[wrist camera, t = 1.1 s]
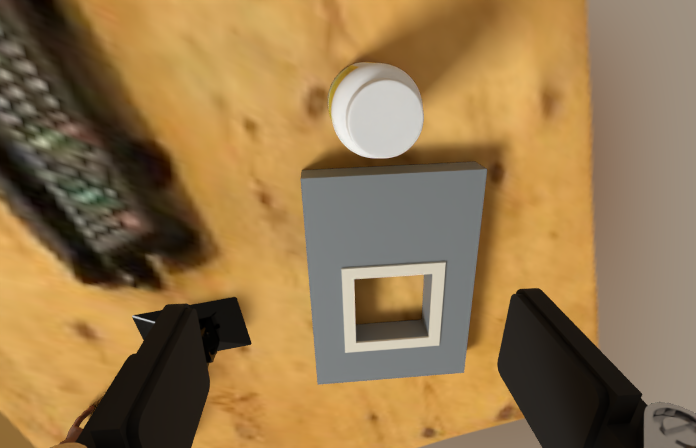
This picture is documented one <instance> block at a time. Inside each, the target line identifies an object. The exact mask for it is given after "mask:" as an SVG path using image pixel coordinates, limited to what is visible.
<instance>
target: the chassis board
mask: <svg viewBox="0 0 696 448" xmlns="http://www.w3.org/2000/svg"><path fill="white" fill-rule="evenodd" d="M486 175H487V169H486V168H485V167H483V166H481V165H480V164H478V163H477V162H456V163H436V164H416V165H396V166H376V167H356V168H336V169H316V170H302V172H301V189H302V201H303V213H304V226H305V238H306V250H307V262H308V274H309V286H310V298H311V310H312V322H313V334H314V346H315V358H316V370H317V382H318V384H330V383H343V382H355V381H367V380H379V379H392V378H404V377H416V376H428V375H441V374H453V373H464V367H465V358H466V350H467V341H468V332H469V324H470V315H471V306H472V297H473V289H474V280H475V271H476V263H477V254H478V245H479V236H480V228H481V219H482V210H483V202H484V193H485V184H486ZM410 275H424V287H423V305H422V320H410V321H397V322H383V323H369V324H356V325H355V291H354V279H365V278H380V277H395V276H410Z"/></svg>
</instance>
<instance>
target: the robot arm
mask: <svg viewBox="0 0 696 448" xmlns="http://www.w3.org/2000/svg"><path fill="white" fill-rule="evenodd" d="M497 364H498V371H499V373H500V376H501V377H502V379H503V381H504V382H505V384H506V386H507V388H508V389H509V391H510V393H511V394H512V396H513V398H514V400H515V401H516V403H517V405H518V406H519V408H520V410H521V412H522V413H523V415H524V417H525V419H526V420H527V422H528V424H529V425H530V427H531V429H532V431H533V432H534V434H535V436H536V437H537V439H538V441H539V443H540V444H541V446H542V448H696V413H694V412H692V411H690V410H687V409H685V408H683V407H680V406H677V405H674V404H671V403H663V402H657V403H651V404H650V405H647V404H646V403H645V402H644V401H643V400H642V399H641V396H642V393H641V392H640V391H639V390H638V389H637V388H636V387H635V386H634V385H633V384H632V383H631V382H630V381H629V380H628V379H627V378H626V377H625V376H624V375H623V374H622V373H621V372H620V371H619V370H618V368H617V367H616V366H615V365H614V364H613V363H612V362H611V361H610V360H609V359H608V358H607V357H606V356H605V355H604V354H603V353H602V352H601V351H600V350H599V349H598V348H597V347H596V346H595V345H594V344H593V343H592V342H591V341H590V340H589V339H588V338H587V337H586V335H585V334H584V333H583V332H582V331H581V330H580V329H579V328H578V327H577V326H576V325H575V324H574V323H573V322H572V321H571V320H570V319H569V318H568V317H567V316H566V315H565V314H564V313H563V312H562V311H561V310H560V309H559V308H558V307H557V306H556V305H555V304H554V302H553V301H552V300H551V299H550V298H549V297H548V296H547V295H546V294H545V293H544V292H543V291H542V290H540V289H538V288H532V289H519V290H518V291H517V292H516V294H513V295H512V296H511V300H510V304H509V309H508V314H507V319H506V324H505V329H504V333H503V338H502V343H501V348H500V353H499V357H498V363H497ZM209 387H210V379H209V373H208V368H207V363H206V357H205V352H204V347H203V342H202V337H201V331H200V326H199V321H198V316H197V311H196V309H194V308H193V309H190V306H189V305H188V304H168V305H166V306H165V307H164V308H163V310H162V312H161V313H160V315H159V317H158V318H157V320H156V322H155V323H154V325H153V326H152V328H151V330H150V331H149V333H148V335H147V336H146V338H145V340H144V341H143V343H142V345H141V346H140V348H139V350H138V351H137V353H136V354H132V355H130V356H129V357H128V358H127V360H126V361H125V363H124V364H123V366H122V367H121V369H120V371H119V372H118V374H117V376H116V377H115V379H114V380H113V382H112V384H111V385H110V387H109V388H108V390H107V392H106V393H105V395H104V396H103V398H102V400H101V401H100V403H99V404H98V406H97V408H96V409H95V411H94V413H93V414H92V416H91V417H90V419H89V421H88V422H87V424H86V425H85V427H84V429H83V430H82V432H81V433H80V435H79V437H78V438H77V440H76V441H75V443H64V444H60V445H55V446H53V447H51V448H191V446H192V443H193V440H194V437H195V434H196V430H197V427H198V424H199V421H200V418H201V415H202V411H203V408H204V405H205V402H206V399H207V396H208V392H209Z"/></svg>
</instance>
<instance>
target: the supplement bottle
mask: <svg viewBox="0 0 696 448" xmlns="http://www.w3.org/2000/svg"><path fill="white" fill-rule="evenodd" d="M328 110H329V114H330V118H331V120H332V123H333V126H334V129H335V132H336V134H337V136H338V137H339V139H340V140H341V142H342V143H343V144H344V145H345V146H346V147H347V148H348V149H349V150H351V151H352V152H354V153H356V154H358V155H360V156H363V157H367V158H391V157H395V156H398V155H400V154H402V153H404V152H405V151H407V150H408V149H409V148H410V147H411V146H412V145H413V144H414V143H415V142H416V140H417V139H418V137H419V135H420V133H421V130H422V127H423V121H424V113H423V104H422V99H421V95H420V92H419V89H418V87H417V85H416V84H415V82H414V81H413V80H412V78H411V77H410V76H409V75H408V74H407V73H405V72H404V71H403V70H401V69H399V68H397V67H395V66H392V65H389V64H385V63H374V62H360V63H355V64H352V65H350V66H348V67H346V68H345V69H343V70H342V71H341V72H340V73H339V74H338V75H337V76H336V77H335V79H334V80H333V82H332V84H331V87H330V89H329V93H328Z"/></svg>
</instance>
